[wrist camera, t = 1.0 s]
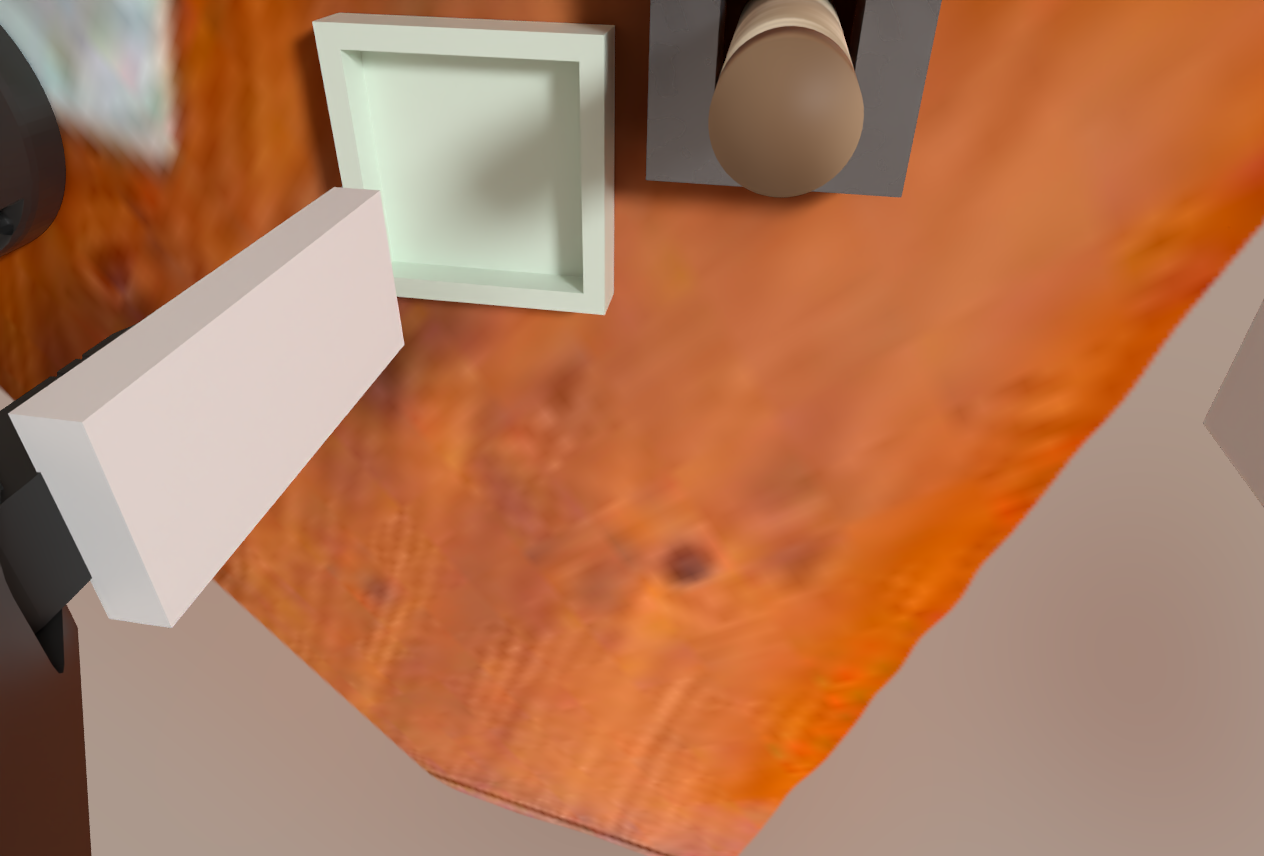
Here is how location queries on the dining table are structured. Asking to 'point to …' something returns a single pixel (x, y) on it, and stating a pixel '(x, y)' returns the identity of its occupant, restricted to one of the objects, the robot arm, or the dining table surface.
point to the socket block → (883, 63)
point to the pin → (786, 99)
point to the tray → (481, 152)
